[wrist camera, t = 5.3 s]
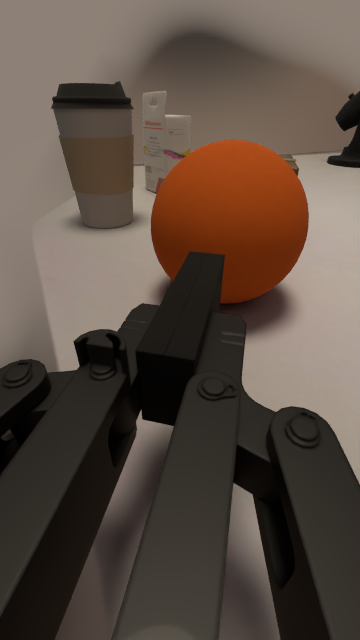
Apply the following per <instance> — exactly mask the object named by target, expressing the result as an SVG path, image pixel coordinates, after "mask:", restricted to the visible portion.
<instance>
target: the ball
mask: <svg viewBox="0 0 360 640" xmlns="http://www.w3.org/2000/svg"><path fill="white" fill-rule="evenodd" d="M308 219H309V213H308V203H307V199H306V195H305V192H304V189H303V187H302V184H301V182H300V180H299V179H298V177H297V175H296V174H295V172H294V170H293V169H292V168H291V167H290V166H289V164H288V163H287V162H286V161H285V160H284V159H282V158H281V157H280V156H279V155H278V154H276V153H275V152H273V151H271V150H270V149H268V148H266V147H264V146H261V145H259V144H256V143H252V142H248V141H242V140H224V141H219V142H215V143H211V144H208V145H206V146H203V147H201V148H199V149H197V150H195V151H193V152H191V153H190V154H188V155H187V156H186V157H184V158H183V159H182V160H181V161H179V162H178V163H177V164H176V165H175V166H174V167H173V169H172V170H171V171H170V172H169V174H168V175H167V176H166V178H165V180H164V181H163V183H162V185H161V186H160V188H159V191H158V193H157V195H156V198H155V201H154V205H153V210H152V217H151V235H152V242H153V246H154V250H155V253H156V255H157V258H158V260H159V262H160V264H161V266H162V267H163V269H164V271H165V272H166V274H167V275H168V276H169V277H170V279H171V280H172V281H174V279H175V277H176V275H177V273H178V272H179V270H180V268H181V266H182V264H183V262H184V261H185V259H186V257H187V255H188V253H189V251H191V252H202V253H212V254H222V255H225V260H224V270H223V280H222V290H221V300H220V303H224V304H227V303H238V302H244V301H248V300H250V299H253V298H256V297H258V296H260V295H262V294H264V293H266V292H268V291H269V290H271V289H272V288H274V287H275V286H276V285H277V284H278V283H280V282H281V281H282V280H283V279H284V278H285V277H286V275H287V274H288V273H289V272H290V271H291V270H292V268H293V267H294V265H295V264H296V262H297V260H298V258H299V256H300V254H301V252H302V250H303V247H304V244H305V241H306V237H307V232H308Z"/></svg>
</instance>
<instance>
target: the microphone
mask: <svg viewBox="0 0 360 640" xmlns="http://www.w3.org/2000/svg"><path fill="white" fill-rule="evenodd" d="M349 99H350V100H349V101H348V102H347V103H346V104H345V105H344V106H343V107H342V109H341V110H340V112H339V113H338V115H337V116H336V121H337V123H338V124H339V126H340V127H341V128H342V129H343V131H346V130H347V129H350V128H352V127H354V126H356V125H358V126H357V129H356V132H355V135H354V137H353V140H352V141H351V143H350V144H349V146H348V147H344V150H343V152H342V154H341V155H339V156H330V157H329V158H328V161H327V162H328V163H329V164H333V165H338V166H345V167H357V168H360V91H359V92H358V93H357V94H356V95H355V96H354V94H353V93H352V94H351V95H350V96H349Z"/></svg>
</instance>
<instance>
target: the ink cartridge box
mask: <svg viewBox="0 0 360 640" xmlns="http://www.w3.org/2000/svg"><path fill="white" fill-rule="evenodd" d="M153 99H154V100H155V101H157V102H158V104H157V106H150V101H152V100H153ZM165 111H166V91H160V92H158V91H157V92H149V93H144V94H143V113H142V123H143V141H144V160H145V180H146V189H148V190H150V191H153V192H155V193H158V191H159V188H160V186H161V185H162V183H163V181H164V180H165V178H166V176H167V175H168V174H169V172H170V171H171V170H172V169H173V167H174V166H175V165H176V164H177V163H178V162H179V161H181V160H182V159H183V158H184V157H186V156H187V155H188V154H190V132H191V131H190V130H191V116H181V115H165Z"/></svg>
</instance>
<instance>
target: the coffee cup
mask: <svg viewBox="0 0 360 640" xmlns="http://www.w3.org/2000/svg"><path fill="white" fill-rule="evenodd" d="M52 100H53V105H52V109H54V113H55V117H56V121H57V125H58V129H59V132H60V135H59V139H60V143H61V146H62V150H63V154H64V157H65V161H66V164H67V168H68V172H69V175H70V179H71V183H72V186H73V189H74V191H75V194H76V198H77V201H78V205H79V209H80V213H81V217H82V220H83V223H84V224H85V225H87V226H89V227H94V228H114V227H120V226H124V225H127V224H129V223H131V222H132V221H133V140H134V139H133V138H134V137H133V135H132V109H133V107H132V105H131V104H130V103H131V99H130V98H127V97H126V96H125V93H124V91H123V88H122V86H121V83H120V82H116V83H115V84H114V85H113V84H94V83H93V84H92V83H91V84H90V83H68V84H59V88H58V92H57V96H56V97H53V98H52Z"/></svg>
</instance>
